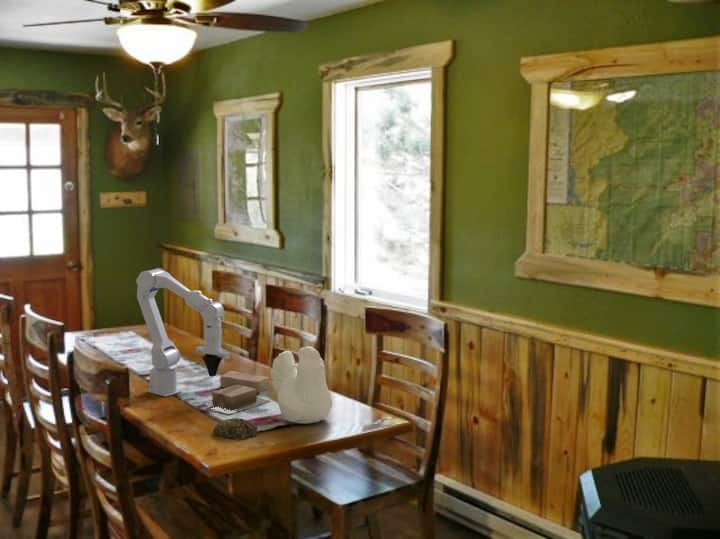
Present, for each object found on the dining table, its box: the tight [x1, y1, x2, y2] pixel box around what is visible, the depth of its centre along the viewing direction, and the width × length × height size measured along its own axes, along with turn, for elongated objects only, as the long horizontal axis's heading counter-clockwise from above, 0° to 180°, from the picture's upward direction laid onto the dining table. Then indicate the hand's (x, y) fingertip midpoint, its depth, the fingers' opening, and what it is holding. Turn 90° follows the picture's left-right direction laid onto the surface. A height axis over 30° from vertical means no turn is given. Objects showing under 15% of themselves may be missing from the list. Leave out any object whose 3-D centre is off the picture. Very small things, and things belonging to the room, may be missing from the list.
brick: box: [219, 370, 270, 393], centre depth 287 cm, size 17×8×5 cm, turn 70°
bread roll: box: [212, 417, 259, 440], centre depth 238 cm, size 13×12×5 cm
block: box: [211, 384, 258, 410], centre depth 266 cm, size 4×12×9 cm
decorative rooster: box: [270, 345, 333, 424], centre depth 252 cm, size 25×16×25 cm, turn 33°
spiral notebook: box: [206, 397, 271, 412], centre depth 265 cm, size 11×20×1 cm, turn 145°
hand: (212, 375), depth 271 cm, fingers closed
